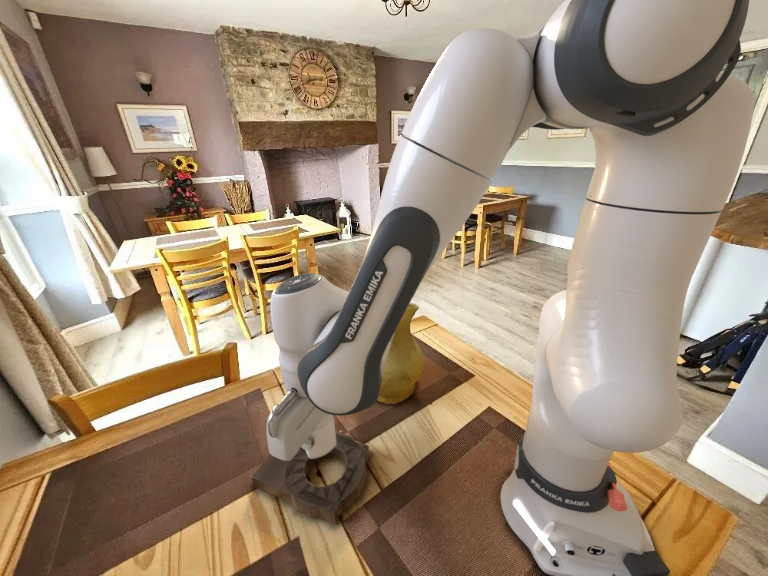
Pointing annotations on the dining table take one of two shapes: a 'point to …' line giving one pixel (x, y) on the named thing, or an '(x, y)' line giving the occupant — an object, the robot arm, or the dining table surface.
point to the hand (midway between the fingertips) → (319, 431)
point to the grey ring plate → (308, 498)
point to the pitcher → (401, 363)
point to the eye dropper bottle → (323, 437)
